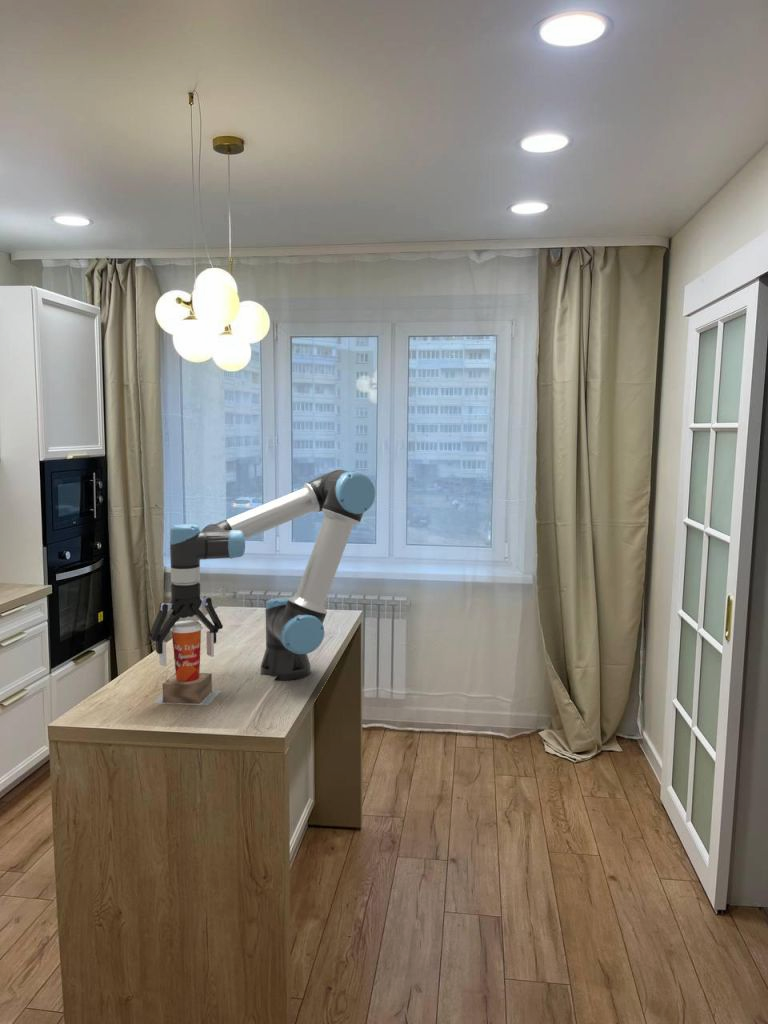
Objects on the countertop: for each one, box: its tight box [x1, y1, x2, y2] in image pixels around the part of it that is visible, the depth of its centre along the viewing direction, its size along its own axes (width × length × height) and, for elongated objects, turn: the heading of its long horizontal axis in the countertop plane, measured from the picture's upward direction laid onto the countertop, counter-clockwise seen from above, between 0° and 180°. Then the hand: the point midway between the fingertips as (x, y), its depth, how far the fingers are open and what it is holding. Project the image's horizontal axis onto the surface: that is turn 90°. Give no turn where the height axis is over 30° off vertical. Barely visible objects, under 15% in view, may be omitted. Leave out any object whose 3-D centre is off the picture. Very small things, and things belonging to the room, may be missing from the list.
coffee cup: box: [170, 620, 203, 682], centre depth 196 cm, size 8×8×15 cm
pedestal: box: [162, 672, 213, 704], centre depth 197 cm, size 10×10×5 cm
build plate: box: [152, 689, 222, 706], centre depth 197 cm, size 15×11×1 cm
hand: (187, 660), depth 196 cm, fingers open, 13 cm apart
